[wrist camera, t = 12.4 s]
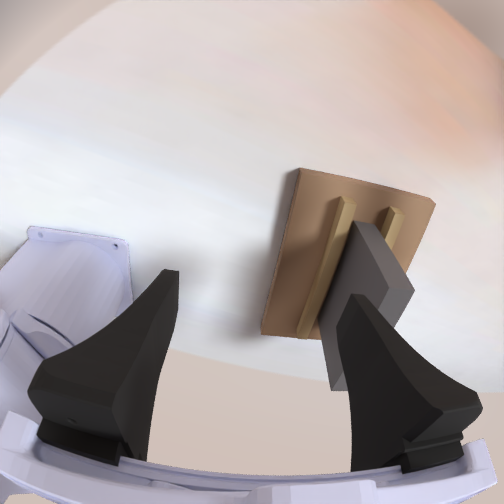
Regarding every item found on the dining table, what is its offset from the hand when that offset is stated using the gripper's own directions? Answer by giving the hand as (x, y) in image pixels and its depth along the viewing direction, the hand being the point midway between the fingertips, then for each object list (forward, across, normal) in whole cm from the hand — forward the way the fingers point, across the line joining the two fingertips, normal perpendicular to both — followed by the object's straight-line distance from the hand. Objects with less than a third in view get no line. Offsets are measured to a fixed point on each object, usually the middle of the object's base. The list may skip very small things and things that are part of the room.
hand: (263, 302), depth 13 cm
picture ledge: (+9, -7, +4) cm, 12 cm away
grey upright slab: (+8, -7, +4) cm, 12 cm away
